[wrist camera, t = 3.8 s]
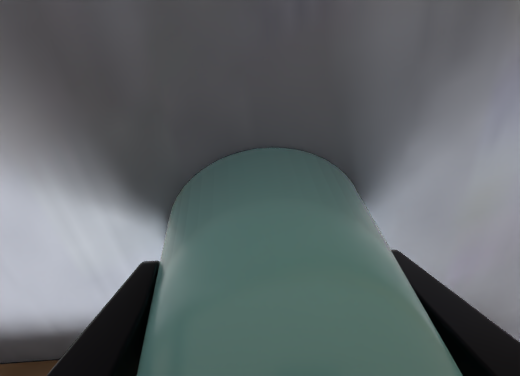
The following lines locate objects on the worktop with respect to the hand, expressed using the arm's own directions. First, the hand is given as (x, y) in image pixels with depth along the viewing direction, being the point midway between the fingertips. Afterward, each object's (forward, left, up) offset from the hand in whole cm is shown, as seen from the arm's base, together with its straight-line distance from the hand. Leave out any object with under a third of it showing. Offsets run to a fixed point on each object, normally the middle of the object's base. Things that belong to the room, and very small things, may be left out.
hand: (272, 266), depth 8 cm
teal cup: (0, 0, -1) cm, 1 cm away
